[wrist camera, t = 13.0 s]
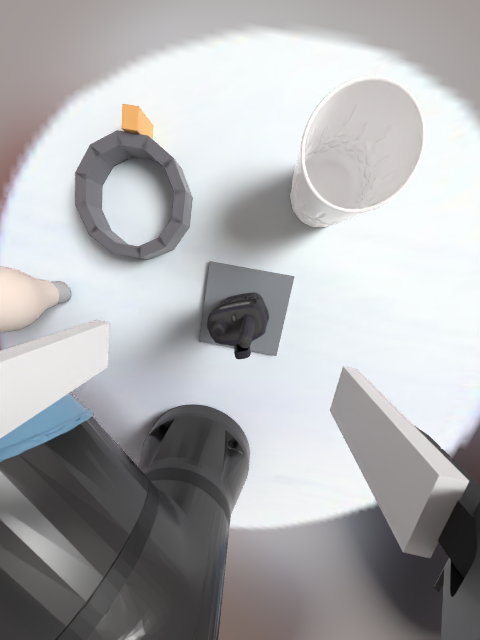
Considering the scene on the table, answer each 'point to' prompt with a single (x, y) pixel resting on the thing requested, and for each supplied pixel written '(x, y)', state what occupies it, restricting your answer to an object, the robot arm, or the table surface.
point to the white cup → (357, 151)
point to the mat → (247, 280)
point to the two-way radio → (238, 322)
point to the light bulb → (26, 298)
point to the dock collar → (100, 165)
